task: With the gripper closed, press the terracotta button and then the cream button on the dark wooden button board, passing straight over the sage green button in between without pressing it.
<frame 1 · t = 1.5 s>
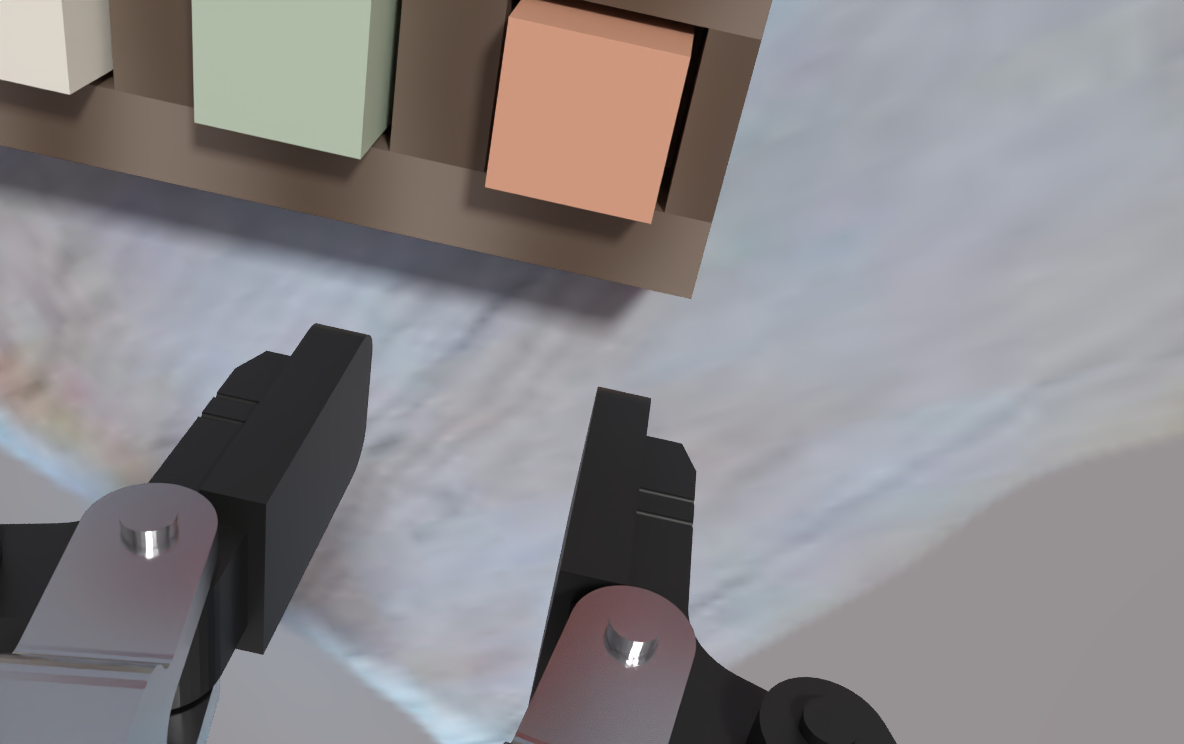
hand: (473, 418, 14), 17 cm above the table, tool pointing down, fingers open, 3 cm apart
terracotta button: (590, 103, 25), point 4 cm above the table, slide at 0.0 cm
sage button: (302, 39, 25), point 4 cm above the table, slide at 0.0 cm
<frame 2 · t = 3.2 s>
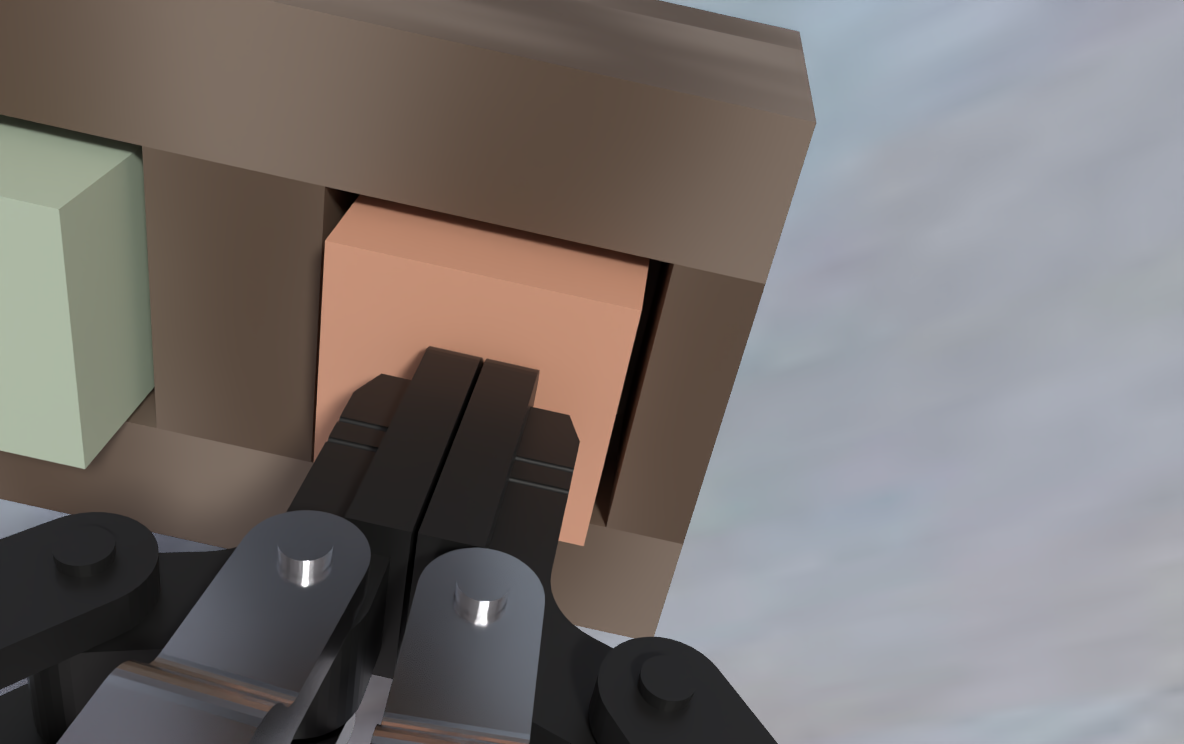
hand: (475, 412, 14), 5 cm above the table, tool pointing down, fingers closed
terracotta button: (486, 347, 15), point 3 cm above the table, slide at -0.7 cm, touching gripper
button board: (126, 158, 18), on the table
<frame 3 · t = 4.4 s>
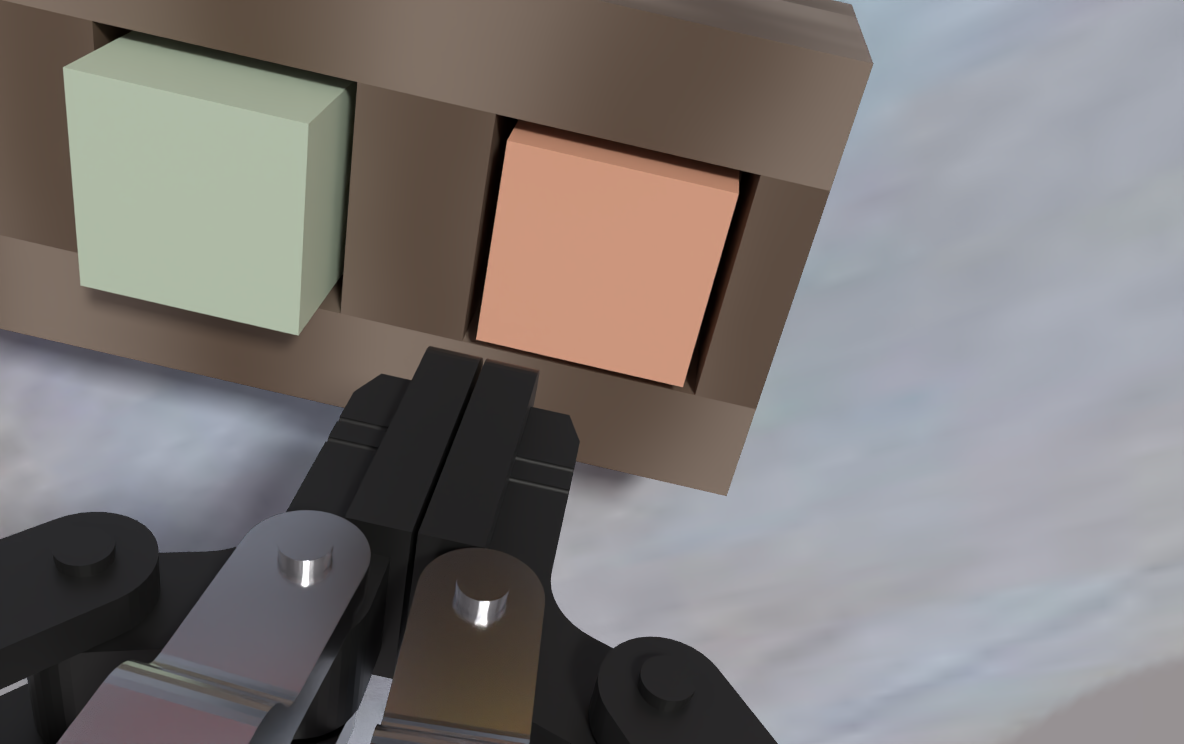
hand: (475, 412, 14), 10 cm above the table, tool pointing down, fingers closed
terracotta button: (609, 235, 20), point 3 cm above the table, slide at -1.2 cm
sage button: (224, 176, 19), point 4 cm above the table, slide at 0.0 cm
button board: (302, 107, 23), on the table
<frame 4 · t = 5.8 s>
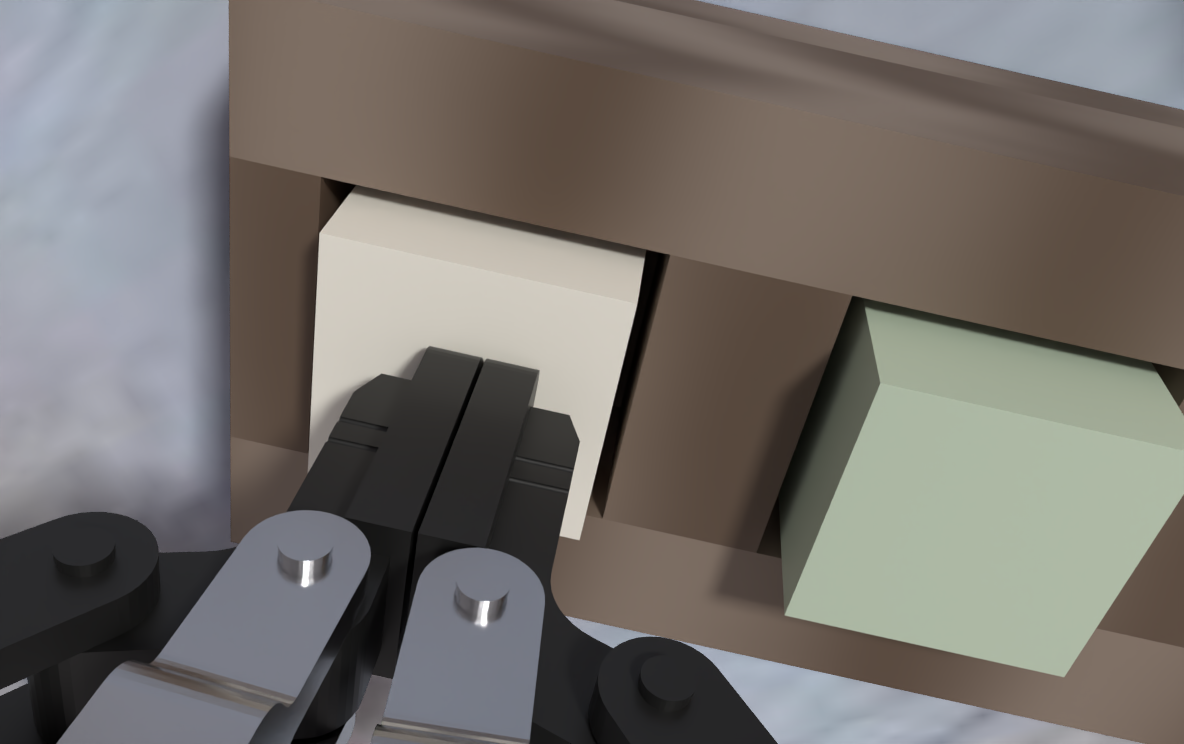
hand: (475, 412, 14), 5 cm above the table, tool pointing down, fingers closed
sage button: (959, 470, 15), point 4 cm above the table, slide at 0.0 cm
button board: (918, 327, 18), on the table
cream button: (482, 340, 15), point 3 cm above the table, slide at -0.6 cm, touching gripper
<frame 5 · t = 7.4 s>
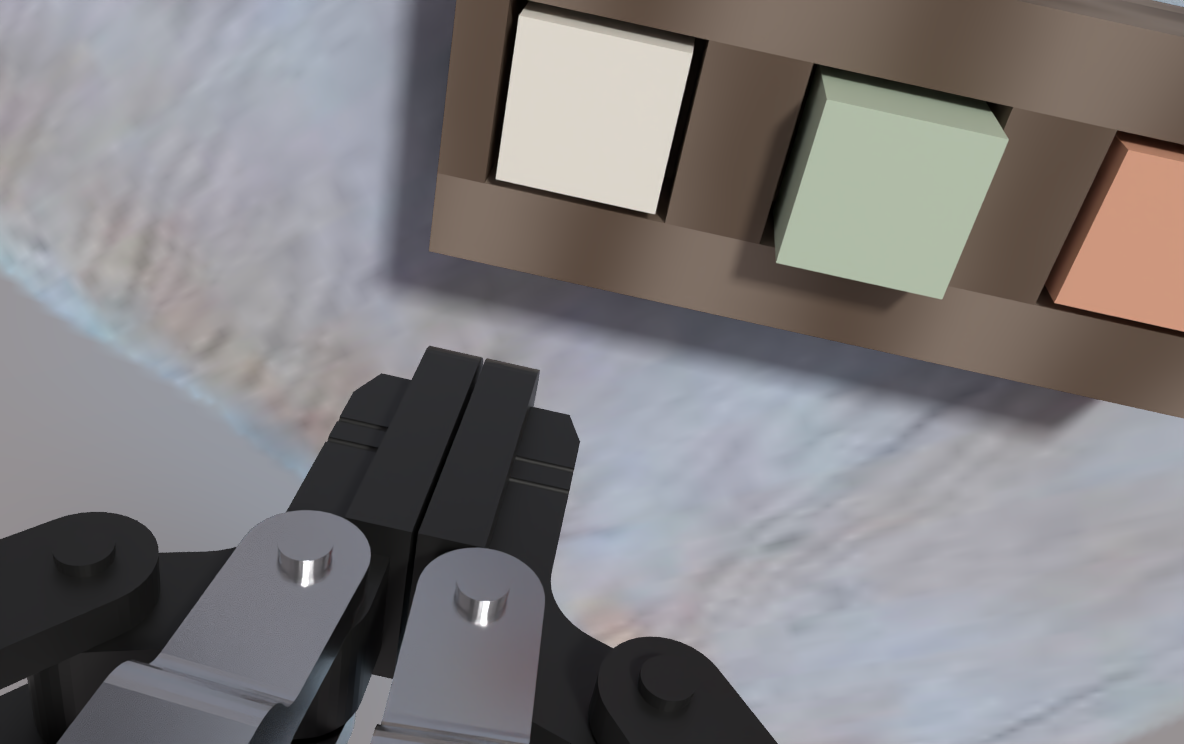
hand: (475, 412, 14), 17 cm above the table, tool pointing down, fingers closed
terracotta button: (1152, 222, 26), point 3 cm above the table, slide at -1.2 cm
sage button: (879, 179, 25), point 4 cm above the table, slide at 0.0 cm
button board: (863, 123, 29), on the table
cream button: (597, 99, 26), point 3 cm above the table, slide at -1.2 cm
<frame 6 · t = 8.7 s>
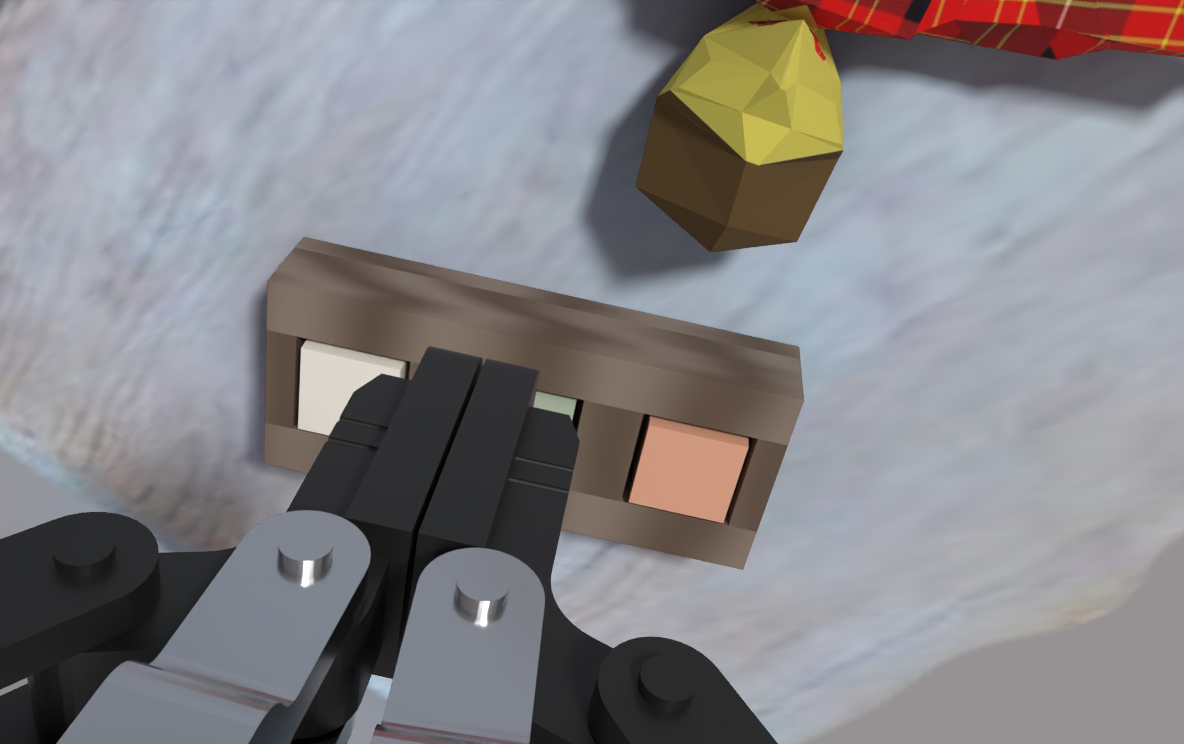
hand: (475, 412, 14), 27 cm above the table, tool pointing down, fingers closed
terracotta button: (688, 453, 44), point 3 cm above the table, slide at -1.2 cm
sage button: (518, 433, 43), point 4 cm above the table, slide at 0.0 cm
button board: (534, 380, 46), on the table
cream button: (359, 380, 44), point 3 cm above the table, slide at -1.2 cm
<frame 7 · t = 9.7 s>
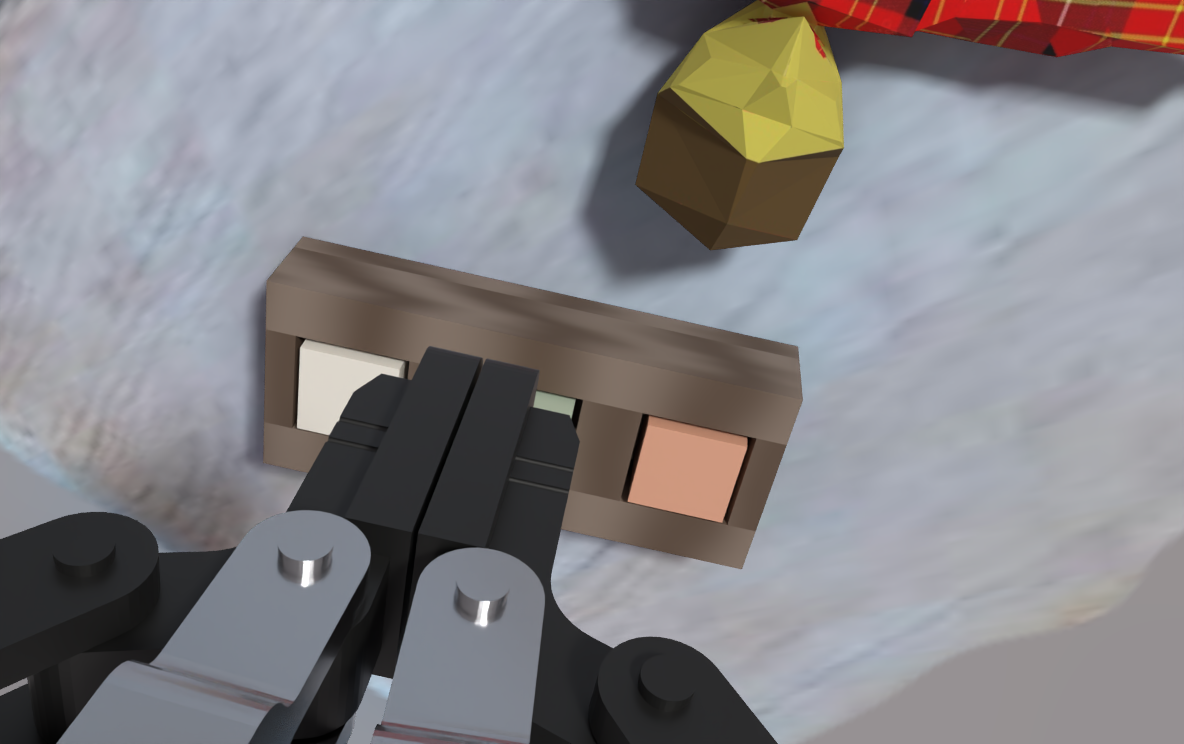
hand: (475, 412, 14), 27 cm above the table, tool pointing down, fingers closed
terracotta button: (687, 453, 44), point 3 cm above the table, slide at -1.2 cm
sage button: (517, 433, 43), point 4 cm above the table, slide at 0.0 cm
button board: (533, 380, 46), on the table
cream button: (358, 379, 44), point 3 cm above the table, slide at -1.2 cm
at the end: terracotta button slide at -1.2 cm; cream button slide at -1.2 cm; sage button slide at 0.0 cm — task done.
